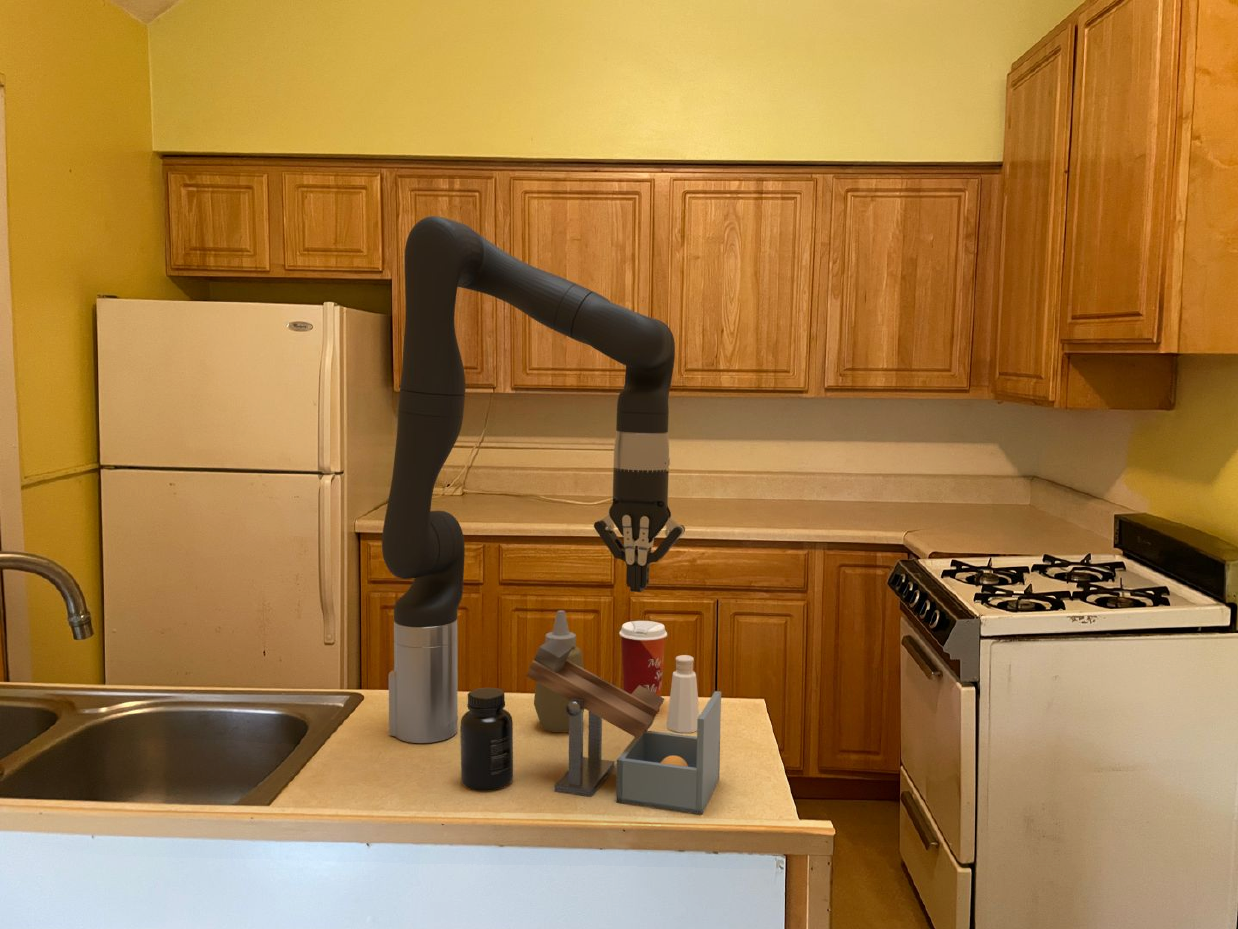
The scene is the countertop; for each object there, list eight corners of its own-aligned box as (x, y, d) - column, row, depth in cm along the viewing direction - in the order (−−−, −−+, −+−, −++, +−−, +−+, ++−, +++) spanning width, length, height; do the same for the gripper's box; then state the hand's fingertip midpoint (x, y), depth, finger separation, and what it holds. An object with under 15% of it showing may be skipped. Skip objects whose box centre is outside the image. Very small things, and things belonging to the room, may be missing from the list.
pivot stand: (553, 792, 122) (554, 700, 121) (580, 761, 131) (581, 676, 130) (590, 797, 120) (591, 704, 119) (614, 766, 130) (616, 680, 129)
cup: (616, 802, 119) (617, 709, 118) (640, 768, 129) (641, 683, 128) (701, 815, 116) (703, 719, 115) (719, 779, 126) (721, 691, 125)
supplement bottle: (511, 769, 128) (511, 683, 127) (514, 791, 122) (515, 700, 121) (460, 772, 127) (460, 685, 126) (460, 794, 121) (460, 702, 120)
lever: (525, 675, 124) (537, 648, 123) (559, 650, 136) (570, 625, 135) (639, 739, 120) (652, 711, 119) (664, 708, 132) (676, 682, 131)
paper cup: (661, 721, 148) (663, 633, 147) (613, 717, 149) (615, 630, 148) (669, 704, 156) (670, 621, 154) (623, 701, 157) (624, 618, 156)
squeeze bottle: (522, 727, 145) (523, 611, 143) (559, 713, 151) (560, 602, 149) (560, 740, 139) (561, 620, 138) (597, 726, 145) (598, 611, 144)
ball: (680, 797, 120) (651, 786, 121) (687, 785, 124) (659, 774, 125) (688, 769, 119) (659, 757, 120) (695, 757, 123) (666, 746, 124)
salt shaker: (660, 730, 144) (662, 659, 143) (672, 719, 149) (673, 650, 148) (694, 735, 142) (696, 664, 141) (705, 724, 147) (707, 654, 146)
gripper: (585, 464, 127) (583, 592, 128) (681, 470, 123) (677, 601, 124) (603, 460, 134) (600, 581, 135) (694, 465, 130) (690, 589, 131)
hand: (637, 590), depth 130 cm, fingers closed
